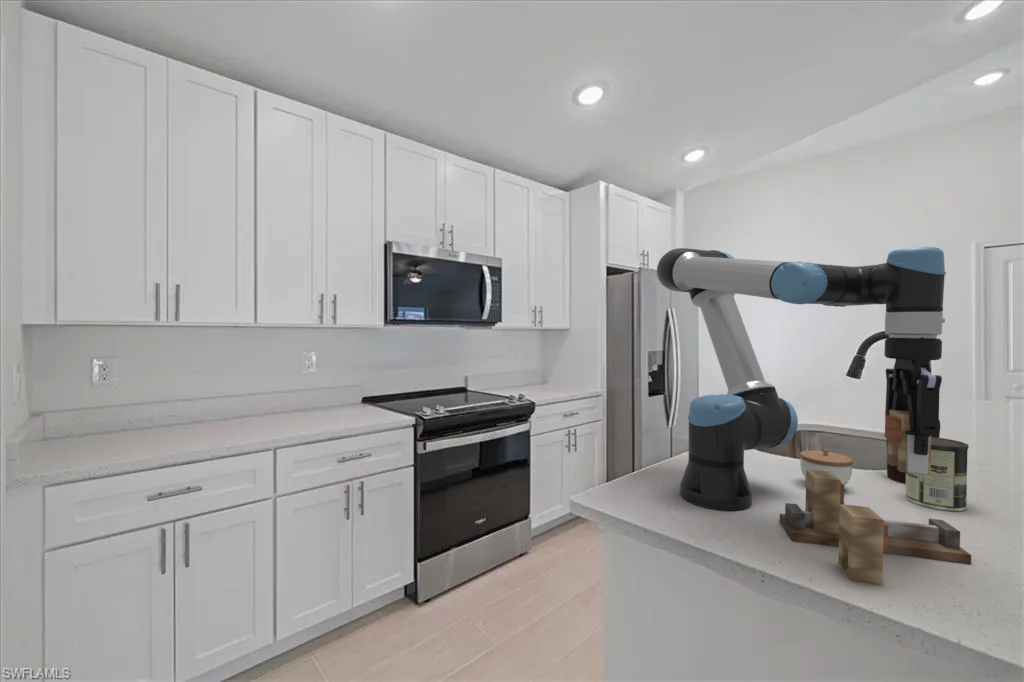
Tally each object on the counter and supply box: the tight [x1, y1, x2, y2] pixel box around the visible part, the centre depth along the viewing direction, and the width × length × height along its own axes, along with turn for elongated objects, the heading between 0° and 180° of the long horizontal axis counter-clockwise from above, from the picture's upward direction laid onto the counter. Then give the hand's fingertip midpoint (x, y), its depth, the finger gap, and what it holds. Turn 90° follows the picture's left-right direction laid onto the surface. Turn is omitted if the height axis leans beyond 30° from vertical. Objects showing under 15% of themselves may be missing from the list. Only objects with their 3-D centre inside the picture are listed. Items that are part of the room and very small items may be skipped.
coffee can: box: [904, 437, 969, 512], centre depth 101 cm, size 10×10×14 cm
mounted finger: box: [804, 470, 845, 534], centre depth 85 cm, size 5×5×10 cm
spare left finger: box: [837, 503, 888, 586], centre depth 71 cm, size 5×5×10 cm
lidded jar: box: [799, 448, 854, 487], centre depth 111 cm, size 11×11×9 cm
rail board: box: [779, 502, 972, 565], centre depth 83 cm, size 26×9×4 cm, turn 72°
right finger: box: [884, 410, 932, 475], centre depth 79 cm, size 5×5×10 cm
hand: (908, 467), depth 79 cm, fingers closed on right finger, 5 cm apart
